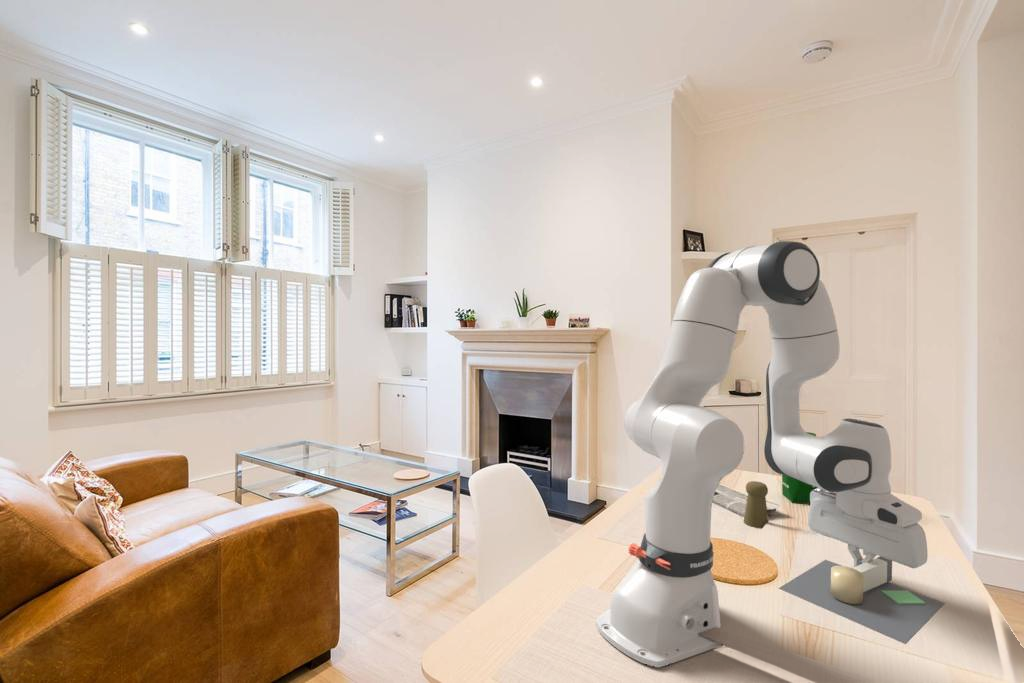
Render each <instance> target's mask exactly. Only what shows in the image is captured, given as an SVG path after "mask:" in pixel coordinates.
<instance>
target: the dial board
mask: <svg viewBox="0 0 1024 683" xmlns="http://www.w3.org/2000/svg"><path fill="white" fill-rule="evenodd" d="M833 566H843V565H842V564H839V563H836V562H833V561H830V560H827V559H824V560H822V561H821V562H819V563H817V564H816V565H814V566H812V567H810V568H809V569H807V570H806V571H804V572H803V573H801V574H799V575H798V576H795V578H793V579H792V580H790V581H788V582H786V583H784V584H783V585H782V586H779V587H778V589H779V590H782V591H784V593H785V592H786V593H788V594H790V595H793V596H794V597H795V596H796V597H797V598H799V599H802V600H804V601H806V602H808V603H811V604H813V605H815V606H817V607H821V608H822V609H824V610H827V611H829V612H831V613H834V614H836V615H838V616H841V617H843V618H845V619H847V620H850V621H851V622H854V623H857V624H859V625H861V626H864V627H865V628H868V629H870V630H872V631H875V632H877V633H879V634H882V635H884V636H886V637H889V638H891V639H893V640H895V641H897V642H900V643H902V644H904V645H906V644H907V643H908V642H909V641H910V640H911V639H912V638H913V637H914V635H916V633H918V632H919V631H920V629H922V627H923V626H925V624H927V622H928V621H929V620H930V619H932V617H933V616H934V615H935V614H936V613H937V612H938V611H939V610H940V609H941V608H942V607H943V606H944V605H945V604H946V603H945V602H944V601H941V600H938V599H934V598H933V597H930V596H927V595H925V594H921V593H918V592H916V591H914V590H911V589H908V588H905V587H902V586H899V585H896V584H894V583H891V582H890V581H889V582H886V583H883V584H881V585H879V586H877V587H874V588H872V589H870V590H867V591H865V592H863V602H862V603H860V604H850V603H846V602H843V601H840V600H838V599H836V598H835V597H833V596H832V595H831V568H832V567H833Z"/></svg>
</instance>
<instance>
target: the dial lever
mask: <svg viewBox="0 0 1024 683" xmlns="http://www.w3.org/2000/svg"><path fill="white" fill-rule="evenodd" d="M892 580H893V561H892V560H889V559H887V558H884V557H881V556H876V557H875V558H874V559H873V560H872V561H869V562H866V563H863V564H861V565H858V566H855V567H854V566H853V567H849V566H846V565H845V566H844V565H842V566H833V567H832V568H831V595H832V596H833V597H835V598H836V599H838V600H840V601H843V602H846V603H850V604H860V603H862V602H863V592H865V591H867V590H870V589H872V588H874V587H877V586H879V585H881V584H883V583H886V582H889V583H890V582H891V581H892Z"/></svg>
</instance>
